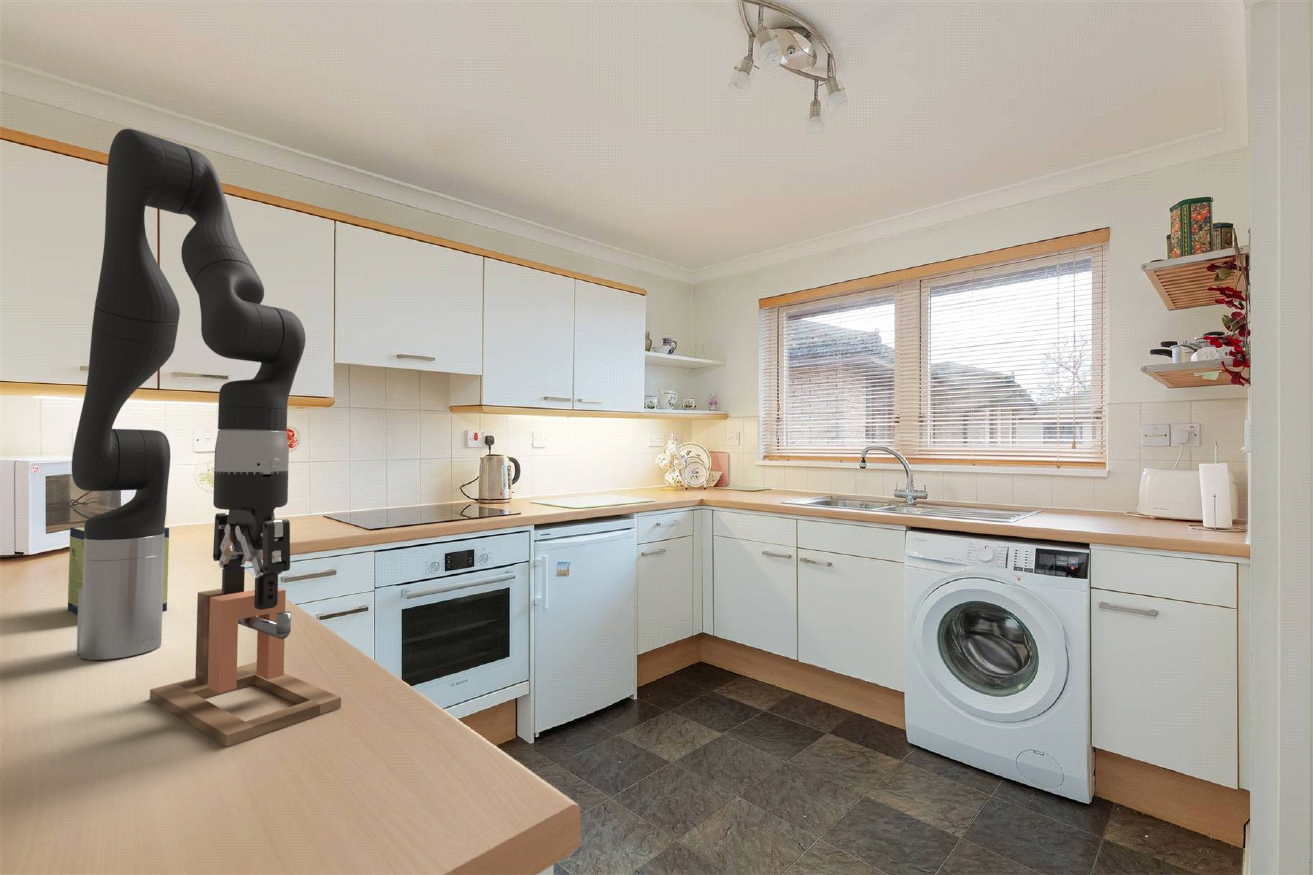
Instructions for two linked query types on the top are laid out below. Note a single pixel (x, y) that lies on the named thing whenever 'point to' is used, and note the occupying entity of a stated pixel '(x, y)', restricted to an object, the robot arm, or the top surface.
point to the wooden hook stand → (219, 723)
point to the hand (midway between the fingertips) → (248, 602)
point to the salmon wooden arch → (226, 639)
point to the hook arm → (270, 625)
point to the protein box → (77, 567)
